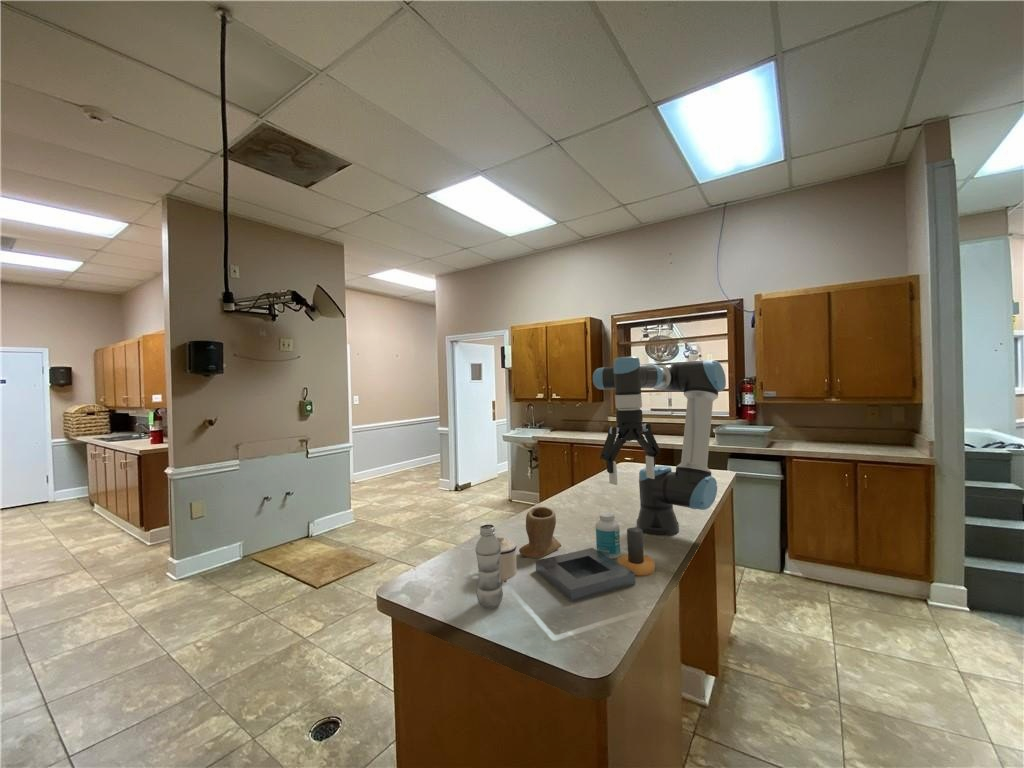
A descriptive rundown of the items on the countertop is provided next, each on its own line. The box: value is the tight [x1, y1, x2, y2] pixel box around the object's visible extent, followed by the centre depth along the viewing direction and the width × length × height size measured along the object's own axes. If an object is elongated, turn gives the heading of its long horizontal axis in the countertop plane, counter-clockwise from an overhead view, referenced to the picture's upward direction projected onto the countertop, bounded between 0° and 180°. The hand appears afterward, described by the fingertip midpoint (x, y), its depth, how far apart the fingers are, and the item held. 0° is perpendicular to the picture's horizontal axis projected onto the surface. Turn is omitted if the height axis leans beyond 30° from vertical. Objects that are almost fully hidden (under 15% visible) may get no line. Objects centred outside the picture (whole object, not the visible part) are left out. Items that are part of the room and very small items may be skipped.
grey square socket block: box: [535, 547, 636, 603], centre depth 116 cm, size 20×20×4 cm
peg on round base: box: [617, 527, 656, 576], centre depth 121 cm, size 10×10×12 cm
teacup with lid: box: [496, 535, 518, 583], centre depth 122 cm, size 12×9×12 cm
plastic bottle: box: [475, 523, 504, 609], centre depth 105 cm, size 6×7×20 cm
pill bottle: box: [595, 512, 622, 560], centre depth 131 cm, size 8×7×14 cm
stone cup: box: [518, 506, 562, 559], centre depth 137 cm, size 15×12×15 cm
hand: (632, 481), depth 121 cm, fingers open, 13 cm apart
